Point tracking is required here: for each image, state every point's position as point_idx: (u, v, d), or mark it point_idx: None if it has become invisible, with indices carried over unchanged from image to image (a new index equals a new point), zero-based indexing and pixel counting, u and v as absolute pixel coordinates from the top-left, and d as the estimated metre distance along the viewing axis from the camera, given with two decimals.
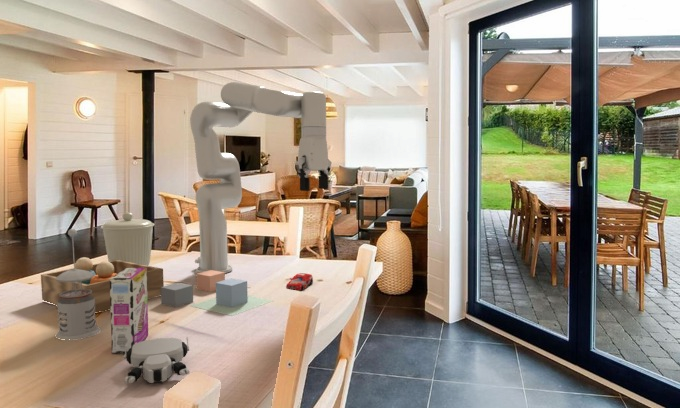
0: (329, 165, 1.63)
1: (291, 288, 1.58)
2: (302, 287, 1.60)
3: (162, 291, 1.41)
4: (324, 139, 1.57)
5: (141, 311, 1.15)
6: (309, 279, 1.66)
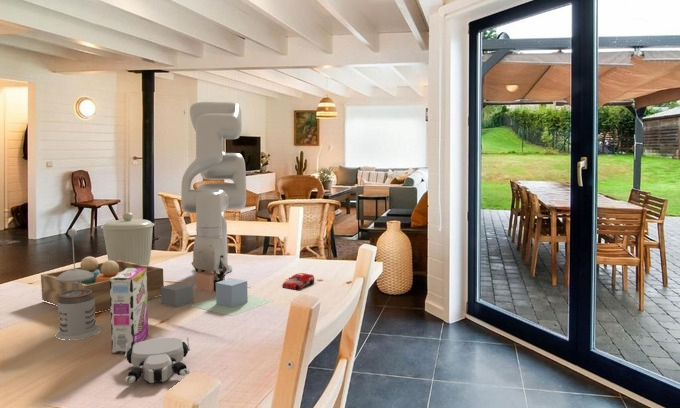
0: None
1: (285, 287, 1.59)
2: (297, 287, 1.60)
3: (162, 291, 1.41)
4: None
5: (141, 311, 1.15)
6: (308, 279, 1.65)
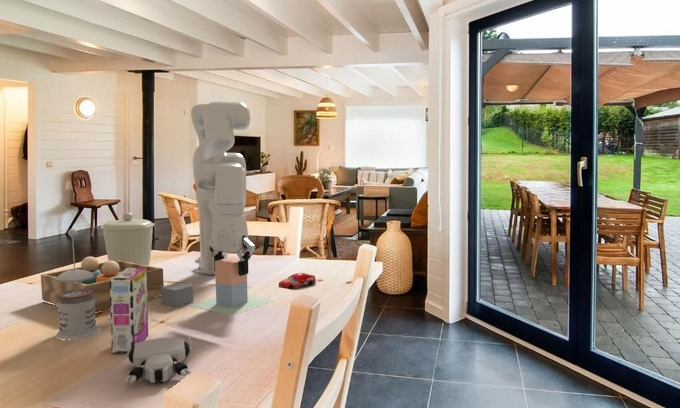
0: None
1: (280, 286, 1.61)
2: (291, 286, 1.61)
3: (162, 291, 1.41)
4: None
5: (141, 311, 1.15)
6: (306, 280, 1.65)
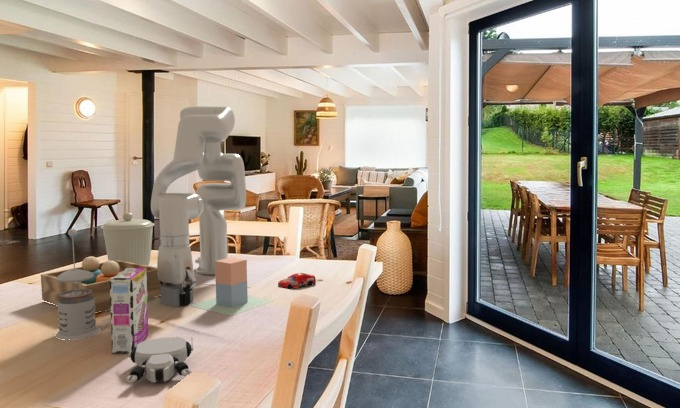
0: None
1: (279, 286, 1.61)
2: (290, 286, 1.61)
3: (162, 291, 1.41)
4: None
5: (141, 311, 1.15)
6: (306, 280, 1.64)
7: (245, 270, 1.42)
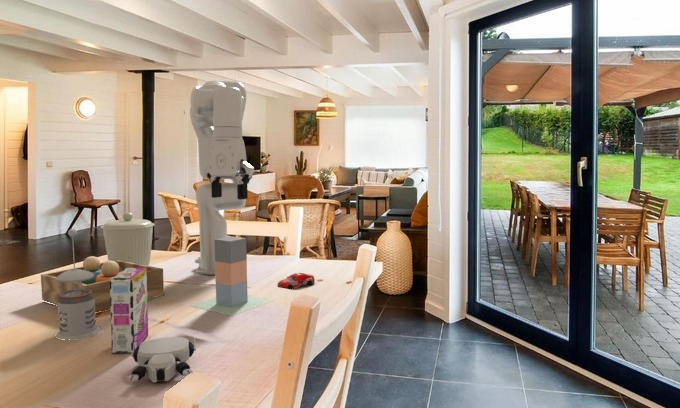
0: None
1: (279, 286, 1.61)
2: (290, 286, 1.61)
3: (216, 243, 1.39)
4: None
5: (141, 311, 1.15)
6: (305, 280, 1.65)
7: (245, 270, 1.42)
